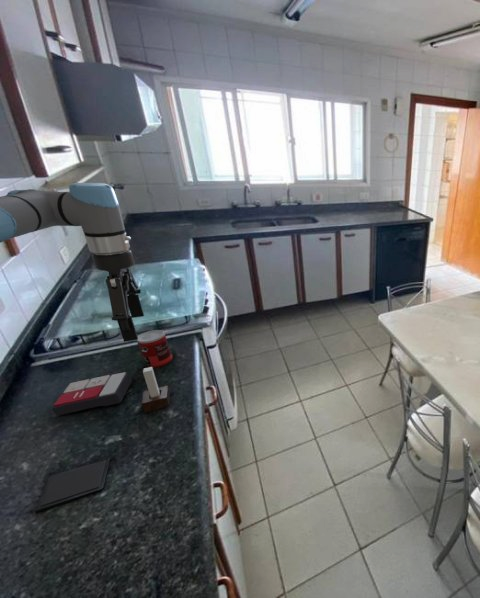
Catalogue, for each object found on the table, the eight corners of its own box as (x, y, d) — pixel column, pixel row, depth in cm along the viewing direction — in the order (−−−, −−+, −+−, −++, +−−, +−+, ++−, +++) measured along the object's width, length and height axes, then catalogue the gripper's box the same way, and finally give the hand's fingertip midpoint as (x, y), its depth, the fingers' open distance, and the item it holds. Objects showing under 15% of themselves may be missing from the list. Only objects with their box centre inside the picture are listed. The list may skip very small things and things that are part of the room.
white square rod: (153, 407, 98) (142, 372, 92) (154, 403, 99) (143, 368, 94) (162, 405, 99) (151, 370, 93) (162, 401, 100) (152, 366, 95)
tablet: (35, 513, 69) (34, 510, 69) (50, 478, 76) (48, 475, 76) (103, 491, 74) (102, 488, 74) (111, 460, 81) (109, 457, 81)
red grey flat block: (68, 381, 100) (127, 369, 104) (75, 392, 102) (132, 380, 106) (49, 406, 90) (114, 391, 95) (57, 417, 92) (120, 403, 97)
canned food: (148, 358, 118) (138, 332, 113) (174, 353, 122) (165, 327, 117) (144, 370, 112) (133, 344, 107) (172, 364, 116) (162, 338, 111)
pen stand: (144, 414, 95) (141, 403, 93) (147, 401, 100) (143, 390, 98) (169, 407, 98) (166, 397, 96) (170, 395, 103) (167, 385, 101)
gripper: (122, 265, 71) (147, 348, 80) (137, 237, 90) (155, 306, 99) (76, 269, 67) (107, 355, 76) (102, 239, 87) (124, 310, 96)
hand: (134, 327), depth 88 cm, fingers open, 13 cm apart
